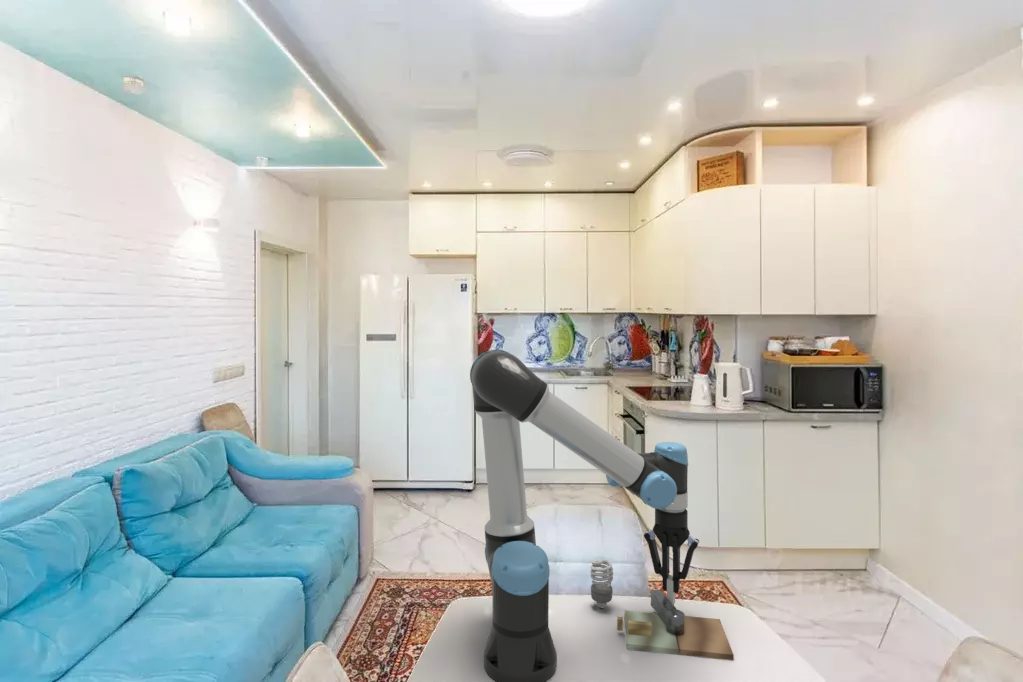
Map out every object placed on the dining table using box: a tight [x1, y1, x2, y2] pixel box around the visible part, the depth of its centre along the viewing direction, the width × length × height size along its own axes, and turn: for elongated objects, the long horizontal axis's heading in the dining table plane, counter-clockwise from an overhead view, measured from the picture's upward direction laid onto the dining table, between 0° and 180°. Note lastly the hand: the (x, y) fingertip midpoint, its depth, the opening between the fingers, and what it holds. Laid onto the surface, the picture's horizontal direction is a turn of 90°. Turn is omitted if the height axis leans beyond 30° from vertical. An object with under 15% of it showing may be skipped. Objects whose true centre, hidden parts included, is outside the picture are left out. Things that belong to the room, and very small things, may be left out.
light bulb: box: [590, 559, 614, 609], centre depth 134 cm, size 6×6×12 cm
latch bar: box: [650, 589, 686, 635], centre depth 126 cm, size 13×4×4 cm, turn 8°
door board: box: [616, 610, 735, 661], centre depth 122 cm, size 24×14×4 cm, turn 80°
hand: (671, 604), depth 130 cm, fingers closed
